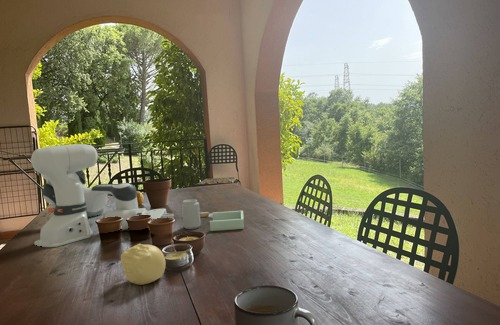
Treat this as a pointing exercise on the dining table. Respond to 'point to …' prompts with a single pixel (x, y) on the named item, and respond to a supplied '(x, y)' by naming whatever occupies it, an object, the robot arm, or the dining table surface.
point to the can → (191, 214)
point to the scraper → (205, 214)
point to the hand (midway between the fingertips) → (173, 216)
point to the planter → (94, 213)
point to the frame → (227, 220)
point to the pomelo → (143, 264)
